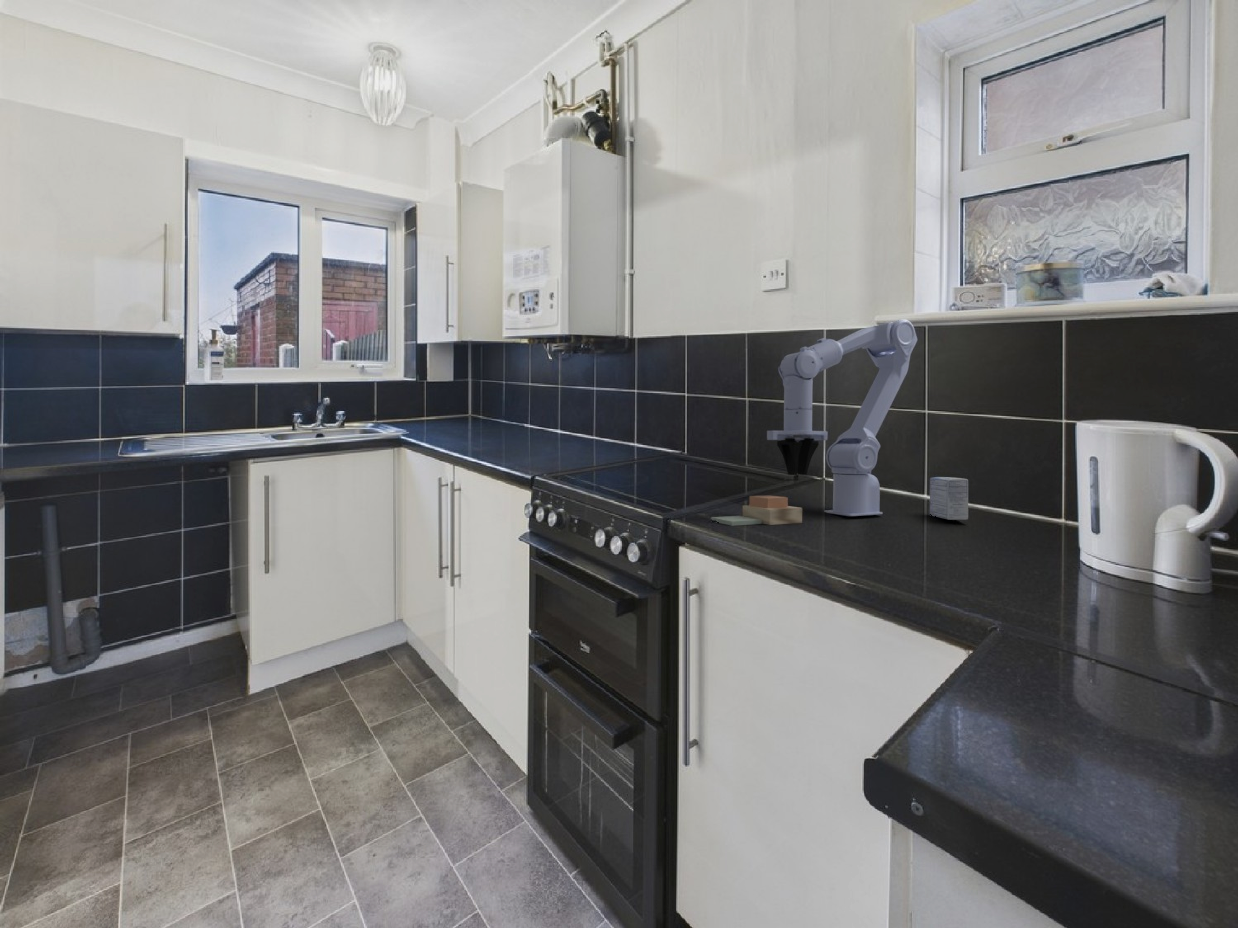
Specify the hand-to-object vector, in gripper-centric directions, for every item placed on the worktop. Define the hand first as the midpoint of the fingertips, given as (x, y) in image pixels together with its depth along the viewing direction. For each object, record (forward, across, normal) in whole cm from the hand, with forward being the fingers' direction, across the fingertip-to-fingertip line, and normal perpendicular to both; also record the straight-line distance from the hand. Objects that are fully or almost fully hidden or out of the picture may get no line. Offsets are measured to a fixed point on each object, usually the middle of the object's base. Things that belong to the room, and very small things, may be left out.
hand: (797, 474), depth 128 cm
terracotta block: (+6, +8, 0) cm, 10 cm away
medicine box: (+10, -32, +11) cm, 35 cm away
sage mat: (+9, +15, -1) cm, 18 cm away
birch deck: (+9, +7, 0) cm, 12 cm away
